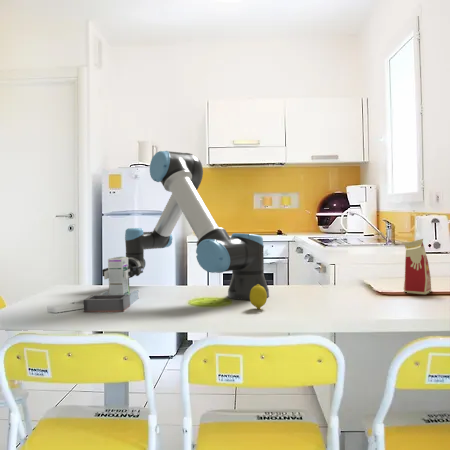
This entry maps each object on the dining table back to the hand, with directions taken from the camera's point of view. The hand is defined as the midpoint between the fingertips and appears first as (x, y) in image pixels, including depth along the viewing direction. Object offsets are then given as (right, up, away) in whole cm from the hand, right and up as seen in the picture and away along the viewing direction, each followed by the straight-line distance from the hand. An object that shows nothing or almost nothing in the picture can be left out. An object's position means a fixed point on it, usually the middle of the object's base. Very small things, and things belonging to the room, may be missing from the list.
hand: (115, 275), depth 176 cm
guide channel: (+1, -10, -1) cm, 10 cm away
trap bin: (0, -10, -13) cm, 16 cm away
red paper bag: (+111, -7, +8) cm, 112 cm away
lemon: (+50, -9, -18) cm, 54 cm away
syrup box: (0, -9, +5) cm, 10 cm away
